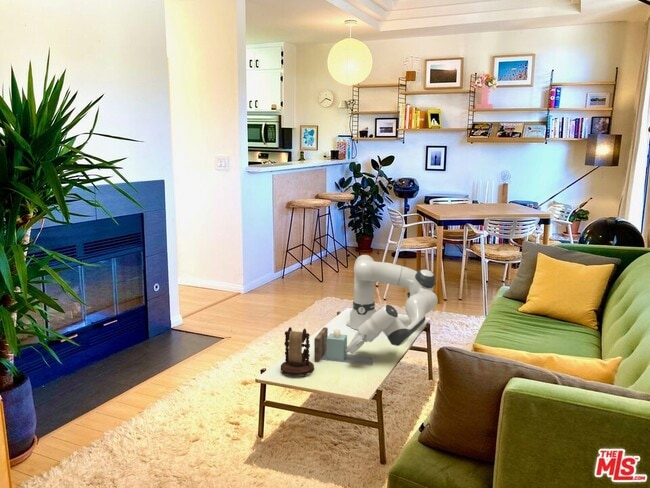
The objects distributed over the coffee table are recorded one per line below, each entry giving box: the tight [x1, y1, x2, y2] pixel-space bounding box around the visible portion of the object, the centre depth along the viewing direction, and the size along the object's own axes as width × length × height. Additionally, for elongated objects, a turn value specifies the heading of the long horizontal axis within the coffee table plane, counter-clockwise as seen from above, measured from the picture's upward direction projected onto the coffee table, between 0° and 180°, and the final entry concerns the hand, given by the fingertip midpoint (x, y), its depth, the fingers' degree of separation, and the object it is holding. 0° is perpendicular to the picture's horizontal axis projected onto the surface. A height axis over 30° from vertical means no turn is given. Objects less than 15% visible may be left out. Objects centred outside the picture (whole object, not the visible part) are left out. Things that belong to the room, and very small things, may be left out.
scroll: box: [280, 327, 315, 378], centre depth 236 cm, size 15×15×20 cm
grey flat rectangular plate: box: [320, 351, 376, 366], centre depth 250 cm, size 10×24×1 cm, turn 75°
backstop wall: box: [313, 327, 329, 363], centre depth 253 cm, size 16×2×12 cm, turn 165°
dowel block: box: [326, 329, 348, 361], centre depth 250 cm, size 7×8×13 cm
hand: (346, 350), depth 249 cm, fingers closed
